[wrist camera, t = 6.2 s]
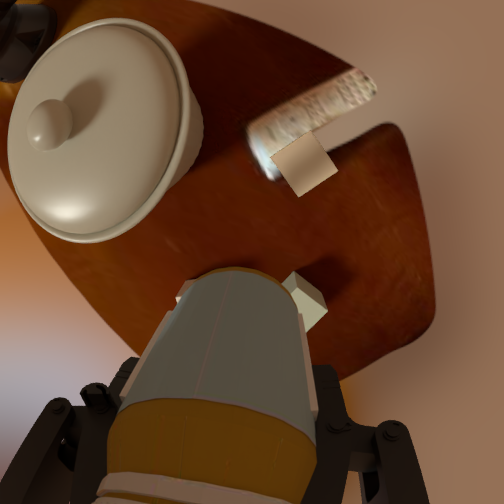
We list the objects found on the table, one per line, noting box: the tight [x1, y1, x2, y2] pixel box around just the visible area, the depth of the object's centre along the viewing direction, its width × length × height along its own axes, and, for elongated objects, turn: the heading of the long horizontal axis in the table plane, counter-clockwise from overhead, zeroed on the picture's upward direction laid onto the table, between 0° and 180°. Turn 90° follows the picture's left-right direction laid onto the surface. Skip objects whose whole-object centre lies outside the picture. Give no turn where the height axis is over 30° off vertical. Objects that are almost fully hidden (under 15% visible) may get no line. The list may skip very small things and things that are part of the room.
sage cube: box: [282, 271, 328, 332], centre depth 36 cm, size 5×5×5 cm
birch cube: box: [270, 130, 338, 197], centre depth 30 cm, size 5×5×5 cm
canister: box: [8, 18, 204, 243], centre depth 22 cm, size 18×18×21 cm
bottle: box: [92, 267, 317, 504], centre depth 10 cm, size 7×7×15 cm
